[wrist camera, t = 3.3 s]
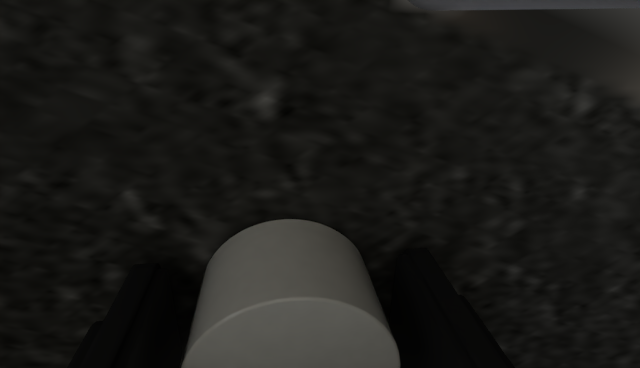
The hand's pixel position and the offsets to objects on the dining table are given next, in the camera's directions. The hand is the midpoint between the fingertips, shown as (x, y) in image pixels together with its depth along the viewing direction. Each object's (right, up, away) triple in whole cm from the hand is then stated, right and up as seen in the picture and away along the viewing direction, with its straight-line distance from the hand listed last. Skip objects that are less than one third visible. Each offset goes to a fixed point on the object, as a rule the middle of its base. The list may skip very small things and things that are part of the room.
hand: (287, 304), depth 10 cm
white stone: (0, 0, 0) cm, 1 cm away
